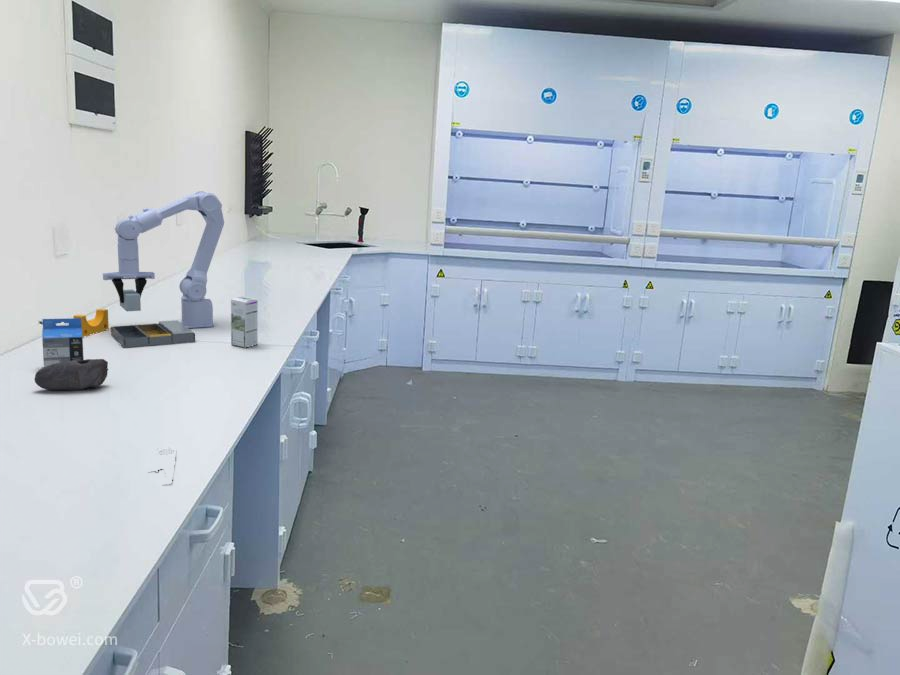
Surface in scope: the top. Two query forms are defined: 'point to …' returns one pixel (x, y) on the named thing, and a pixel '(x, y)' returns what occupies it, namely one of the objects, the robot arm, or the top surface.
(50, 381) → the perforated stone tool
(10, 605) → the top surface
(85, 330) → the pipe clamp
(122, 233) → the robot arm
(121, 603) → the top surface
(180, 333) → the grey compartment tray
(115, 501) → the top surface
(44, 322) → the ink cartridge box
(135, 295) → the tall blue-grey block
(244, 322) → the syrup box
